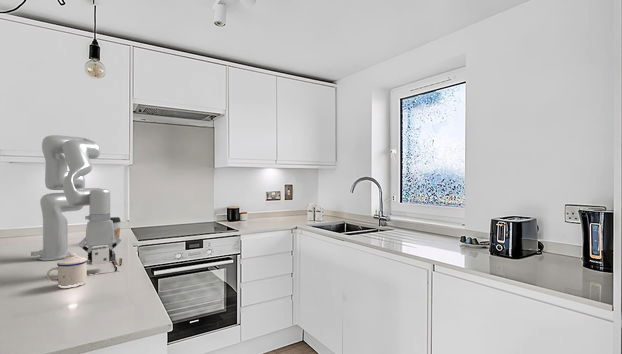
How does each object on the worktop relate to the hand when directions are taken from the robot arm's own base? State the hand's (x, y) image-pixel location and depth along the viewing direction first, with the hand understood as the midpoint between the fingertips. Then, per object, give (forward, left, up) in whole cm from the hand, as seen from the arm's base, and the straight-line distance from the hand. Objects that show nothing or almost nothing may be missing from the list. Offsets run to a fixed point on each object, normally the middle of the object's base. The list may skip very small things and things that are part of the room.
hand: (100, 259), depth 140 cm
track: (0, +5, -5) cm, 7 cm away
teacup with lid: (-11, -15, -5) cm, 19 cm away
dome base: (+3, +18, -5) cm, 18 cm away
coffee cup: (+10, +60, -5) cm, 61 cm away
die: (0, 0, -1) cm, 1 cm away
